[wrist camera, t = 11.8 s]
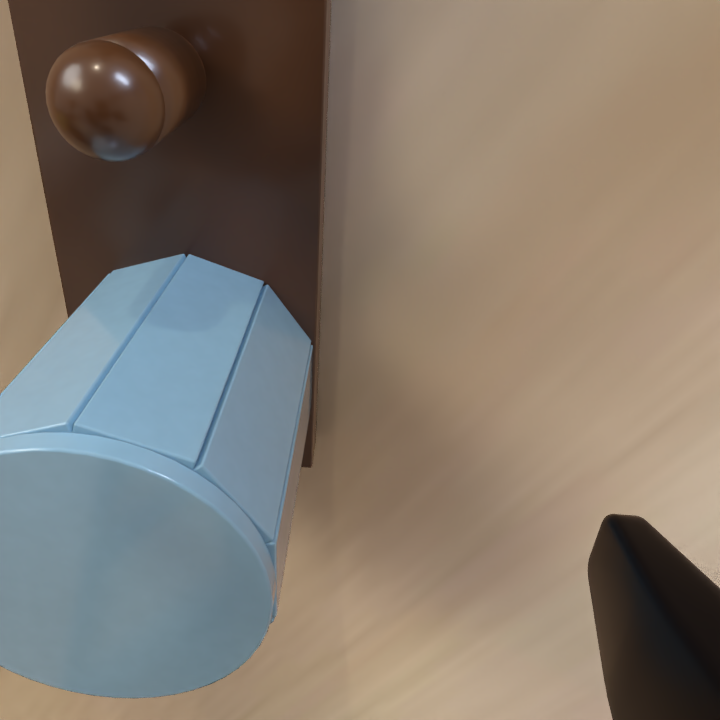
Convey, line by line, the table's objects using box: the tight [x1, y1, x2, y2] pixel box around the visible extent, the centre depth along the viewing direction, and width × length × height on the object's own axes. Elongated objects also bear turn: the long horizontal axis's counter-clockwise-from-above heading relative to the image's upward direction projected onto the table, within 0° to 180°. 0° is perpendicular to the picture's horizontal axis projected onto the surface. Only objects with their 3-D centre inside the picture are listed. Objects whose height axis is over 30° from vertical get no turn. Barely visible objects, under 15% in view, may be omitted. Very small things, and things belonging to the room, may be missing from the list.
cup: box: [0, 254, 313, 698], centre depth 16 cm, size 7×7×8 cm
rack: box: [8, 0, 331, 468], centre depth 13 cm, size 7×23×6 cm, turn 176°
